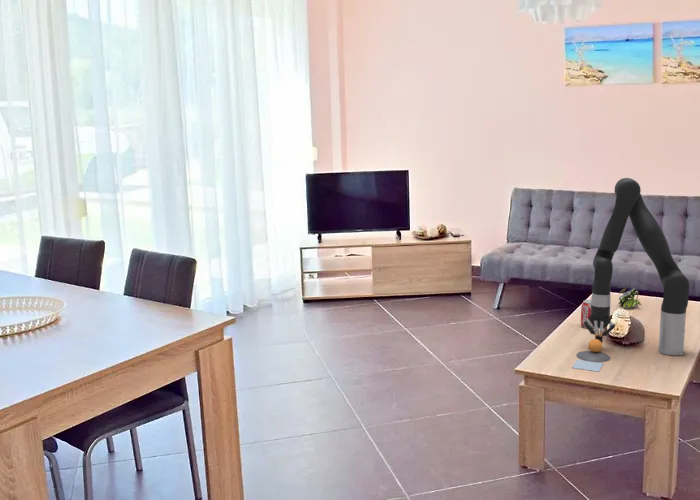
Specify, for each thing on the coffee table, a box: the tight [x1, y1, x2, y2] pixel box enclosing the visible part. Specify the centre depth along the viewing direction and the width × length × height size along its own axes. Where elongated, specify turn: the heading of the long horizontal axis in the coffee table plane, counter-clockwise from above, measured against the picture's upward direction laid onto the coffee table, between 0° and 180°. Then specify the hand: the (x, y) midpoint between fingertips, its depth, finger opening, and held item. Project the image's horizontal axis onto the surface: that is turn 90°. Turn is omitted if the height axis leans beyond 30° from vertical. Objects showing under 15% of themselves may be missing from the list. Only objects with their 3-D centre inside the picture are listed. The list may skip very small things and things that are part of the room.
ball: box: [587, 338, 603, 353], centre depth 299 cm, size 6×6×6 cm
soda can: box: [580, 299, 595, 329], centre depth 333 cm, size 7×7×12 cm
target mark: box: [576, 350, 611, 363], centre depth 294 cm, size 13×13×1 cm
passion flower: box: [618, 287, 642, 309], centre depth 366 cm, size 11×11×12 cm
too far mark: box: [571, 359, 604, 373], centre depth 284 cm, size 10×10×1 cm
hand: (598, 344), depth 305 cm, fingers closed
